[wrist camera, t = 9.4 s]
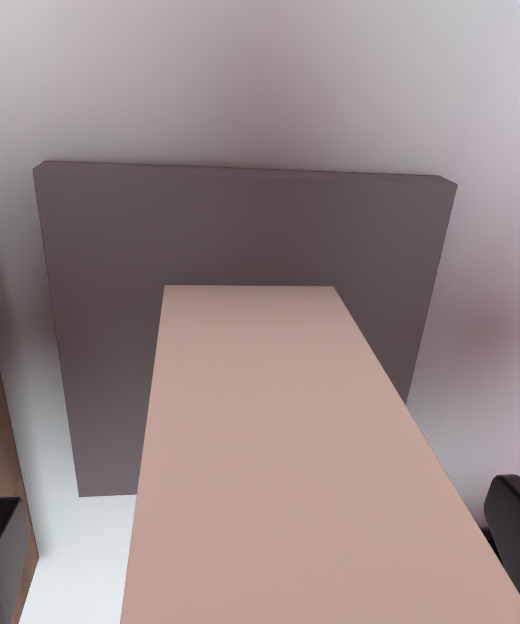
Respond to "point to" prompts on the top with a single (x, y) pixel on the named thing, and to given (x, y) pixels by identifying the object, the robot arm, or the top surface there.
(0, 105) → the top surface
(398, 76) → the top surface
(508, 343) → the top surface
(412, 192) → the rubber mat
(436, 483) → the pink block
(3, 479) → the pocket block
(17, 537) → the robot arm
